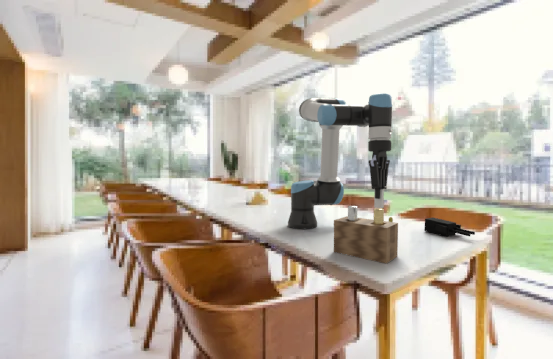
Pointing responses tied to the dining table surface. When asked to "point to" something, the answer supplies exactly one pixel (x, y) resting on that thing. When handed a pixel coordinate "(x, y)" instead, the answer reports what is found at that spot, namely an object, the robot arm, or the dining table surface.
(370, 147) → the robot arm
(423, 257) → the dining table surface
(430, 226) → the black pronged block
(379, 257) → the socket block
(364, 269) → the dining table surface
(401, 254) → the dining table surface
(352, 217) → the peg
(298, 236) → the dining table surface
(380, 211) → the peg
